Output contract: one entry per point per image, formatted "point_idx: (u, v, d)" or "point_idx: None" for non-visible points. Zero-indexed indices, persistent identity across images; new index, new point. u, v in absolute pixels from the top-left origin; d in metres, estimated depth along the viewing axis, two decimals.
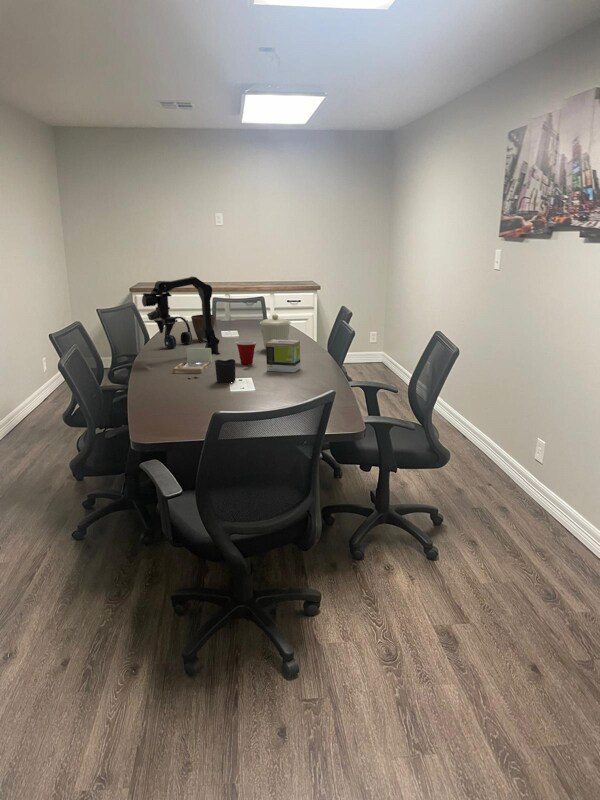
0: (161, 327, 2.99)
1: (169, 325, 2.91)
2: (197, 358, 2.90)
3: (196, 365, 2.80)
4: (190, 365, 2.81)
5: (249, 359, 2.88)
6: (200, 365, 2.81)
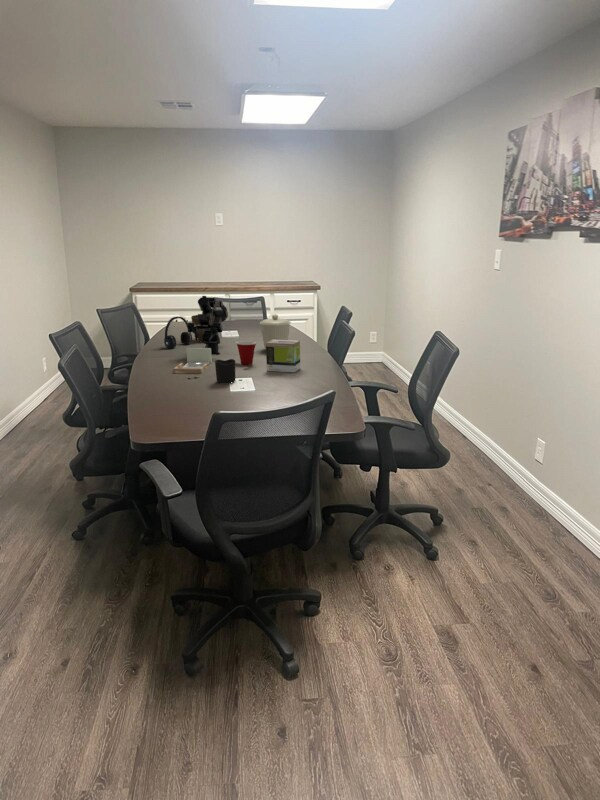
0: (197, 335, 2.98)
1: (213, 332, 2.98)
2: (197, 358, 2.90)
3: (196, 365, 2.80)
4: (190, 365, 2.81)
5: (249, 359, 2.88)
6: (200, 365, 2.81)
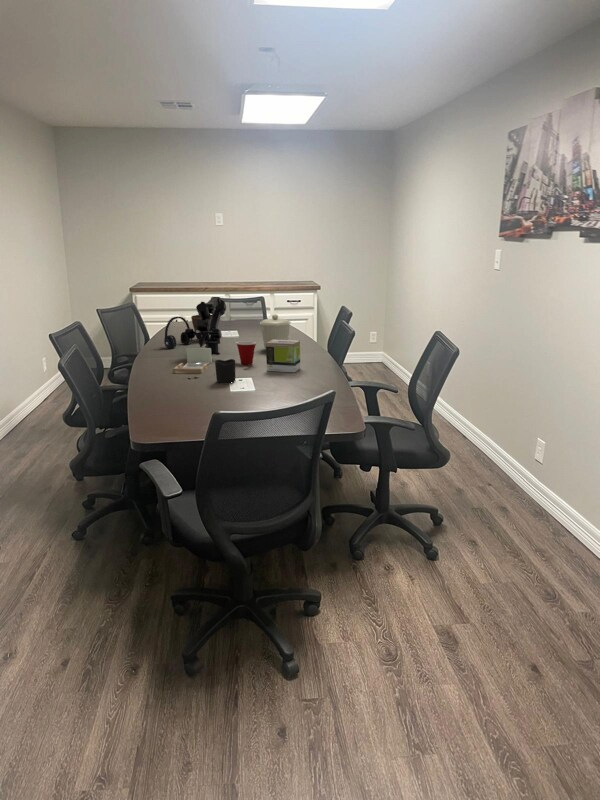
0: None
1: (205, 338, 2.95)
2: (197, 358, 2.90)
3: (196, 365, 2.80)
4: (190, 365, 2.81)
5: (249, 359, 2.88)
6: (200, 365, 2.81)
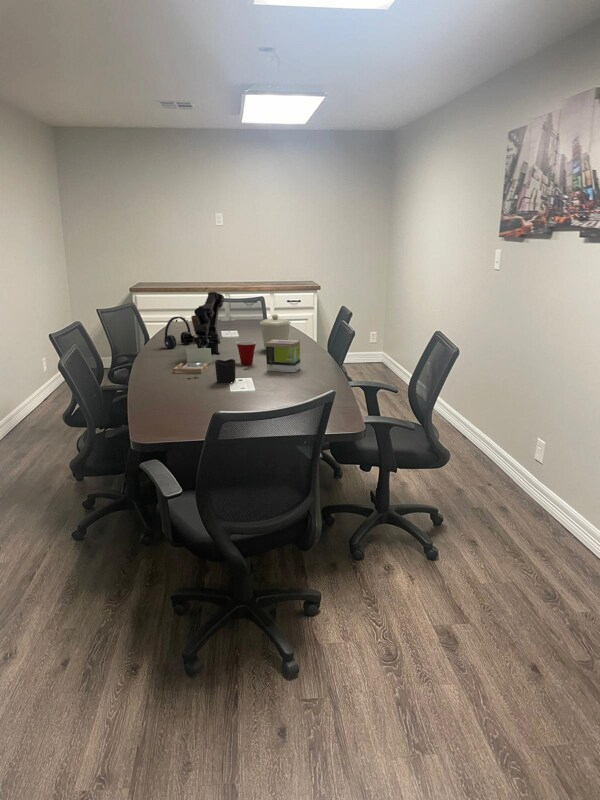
0: None
1: (203, 343, 2.92)
2: (196, 358, 2.89)
3: (196, 365, 2.80)
4: (190, 365, 2.80)
5: (249, 359, 2.88)
6: (200, 365, 2.81)
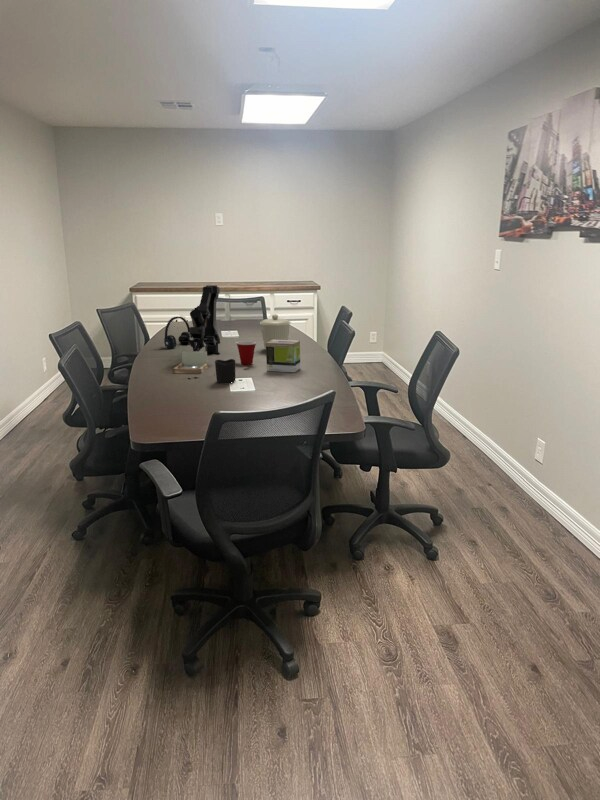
0: None
1: (199, 346, 2.85)
2: (192, 362, 2.82)
3: None
4: None
5: (249, 359, 2.88)
6: None
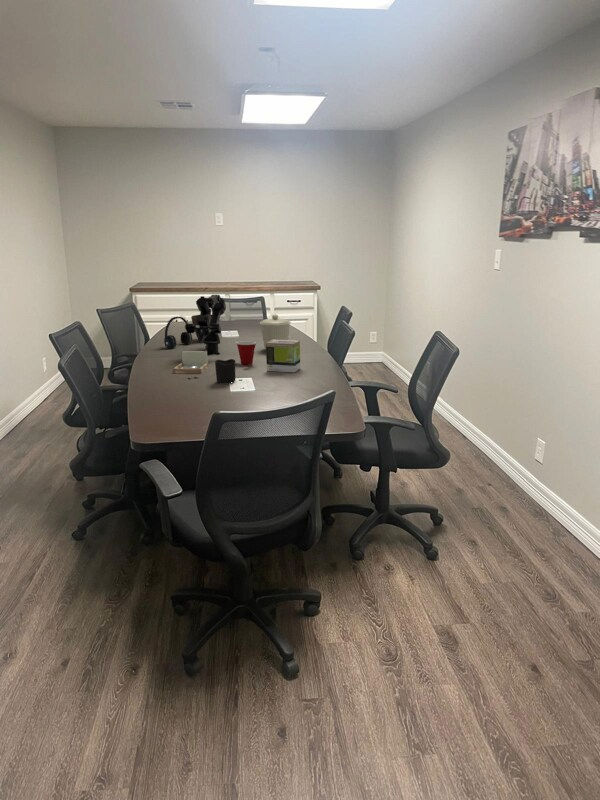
0: None
1: (205, 333, 2.95)
2: (192, 362, 2.82)
3: None
4: None
5: (249, 359, 2.88)
6: None
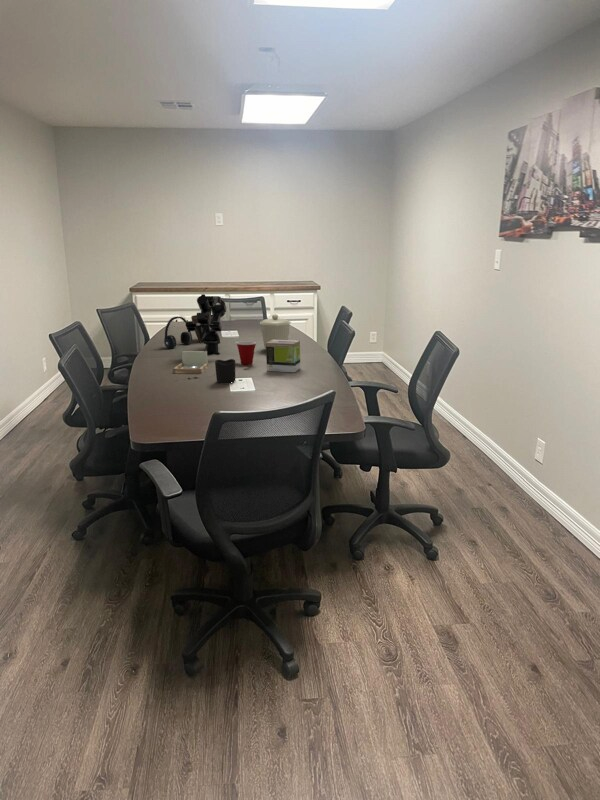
0: None
1: (205, 331, 2.96)
2: (192, 362, 2.82)
3: None
4: None
5: (249, 359, 2.88)
6: None
